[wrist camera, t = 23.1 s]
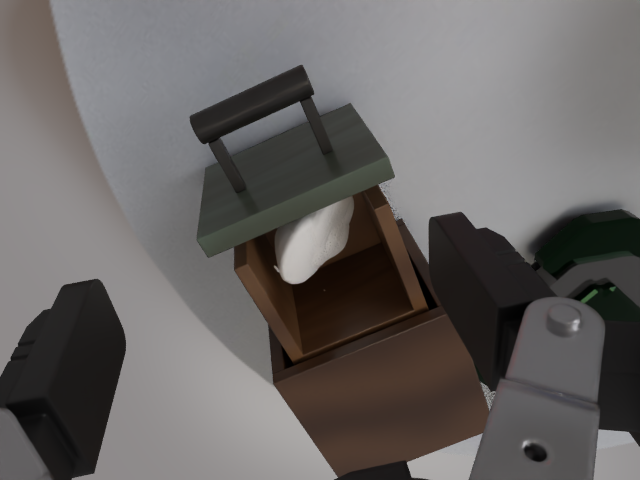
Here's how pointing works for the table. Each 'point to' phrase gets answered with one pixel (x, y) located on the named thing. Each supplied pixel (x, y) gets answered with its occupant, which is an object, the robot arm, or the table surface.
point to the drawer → (298, 201)
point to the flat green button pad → (595, 264)
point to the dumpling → (312, 240)
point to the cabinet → (387, 388)
